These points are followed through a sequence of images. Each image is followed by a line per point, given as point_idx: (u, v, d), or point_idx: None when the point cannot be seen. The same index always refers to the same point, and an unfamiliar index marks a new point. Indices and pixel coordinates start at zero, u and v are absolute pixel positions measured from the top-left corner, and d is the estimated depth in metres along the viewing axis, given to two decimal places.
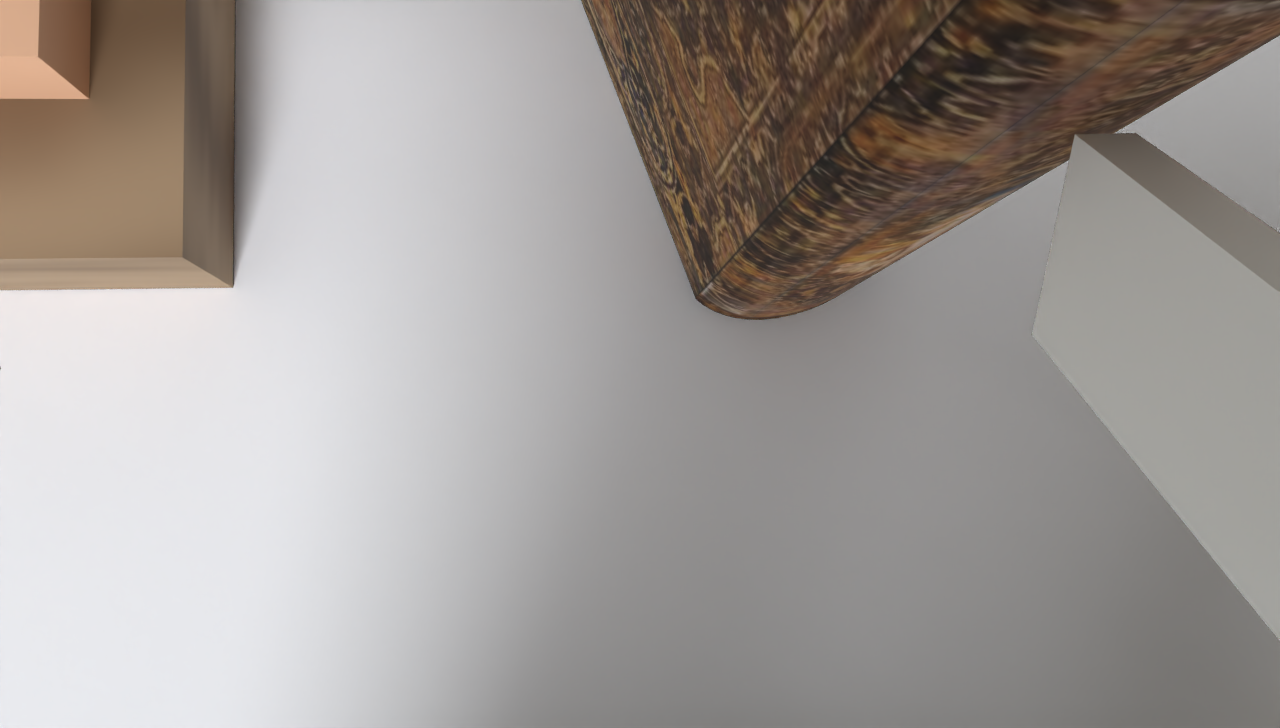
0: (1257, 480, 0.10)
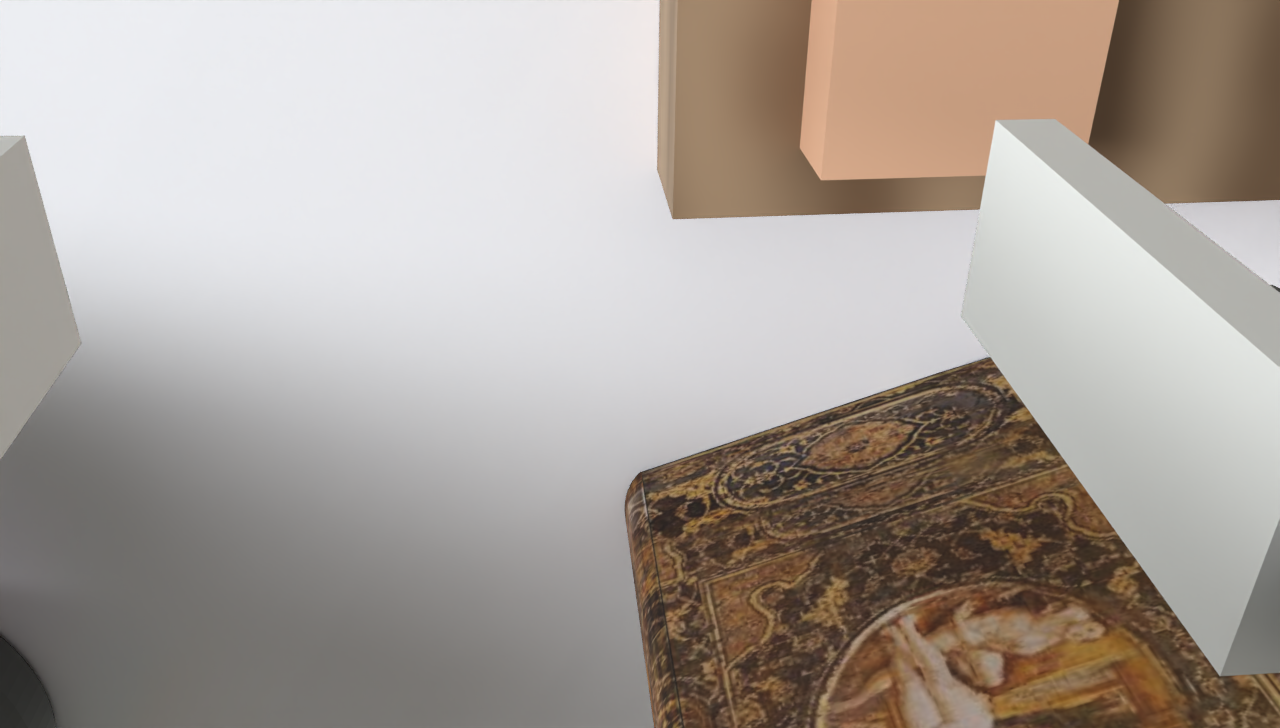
0: (1146, 447, 0.10)
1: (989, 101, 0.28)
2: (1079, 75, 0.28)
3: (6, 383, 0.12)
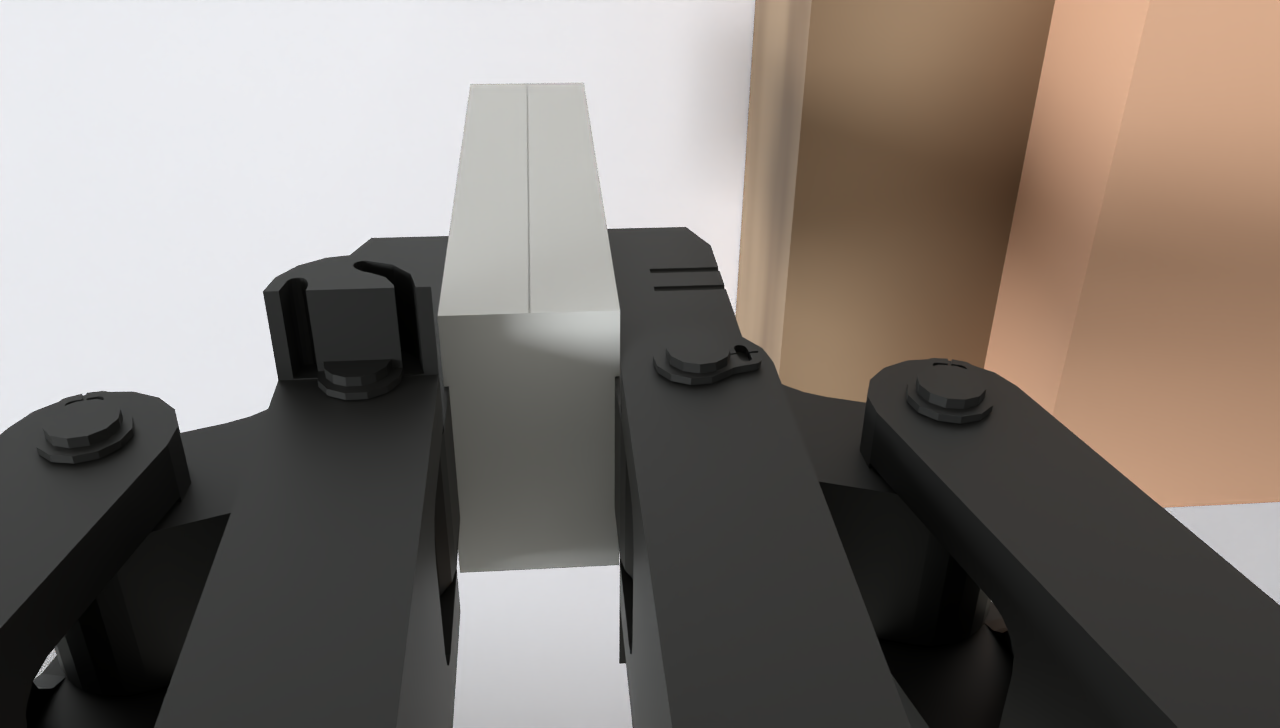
0: None
1: None
2: None
3: None
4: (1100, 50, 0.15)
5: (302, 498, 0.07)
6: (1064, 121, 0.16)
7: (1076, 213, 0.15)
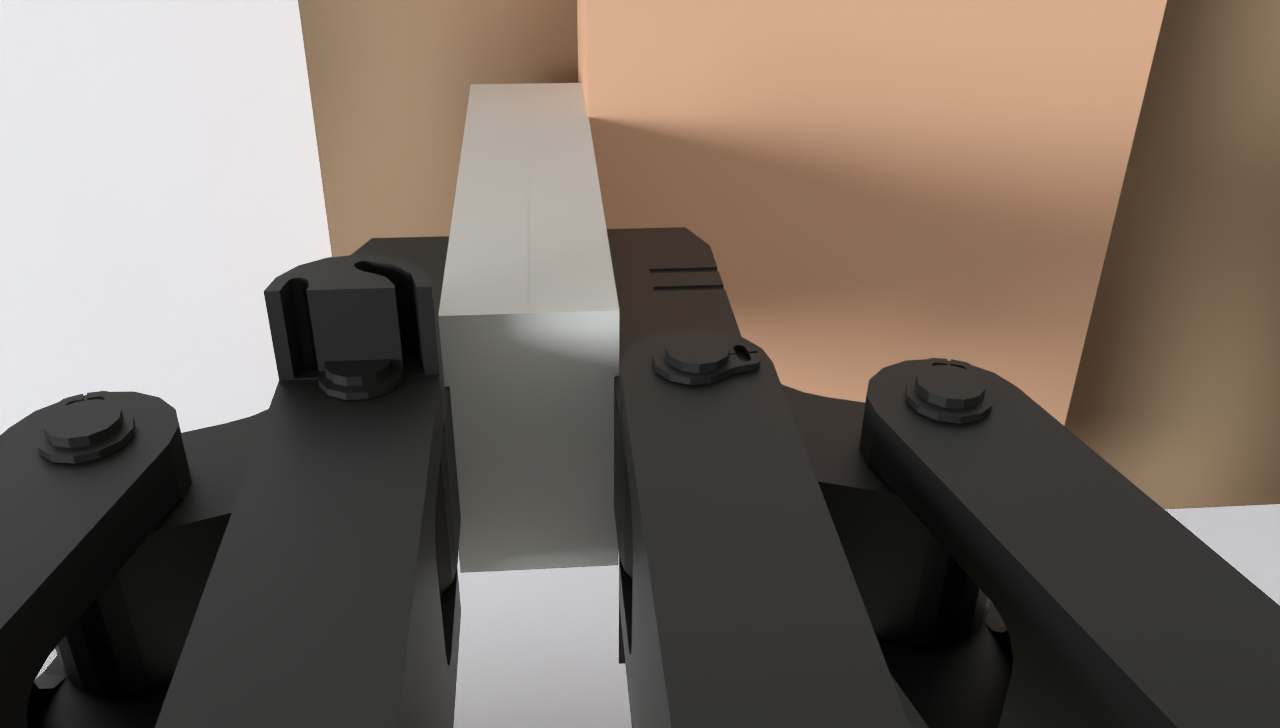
0: None
1: None
2: (1036, 373, 0.16)
3: None
4: (582, 62, 0.14)
5: (304, 498, 0.07)
6: None
7: None
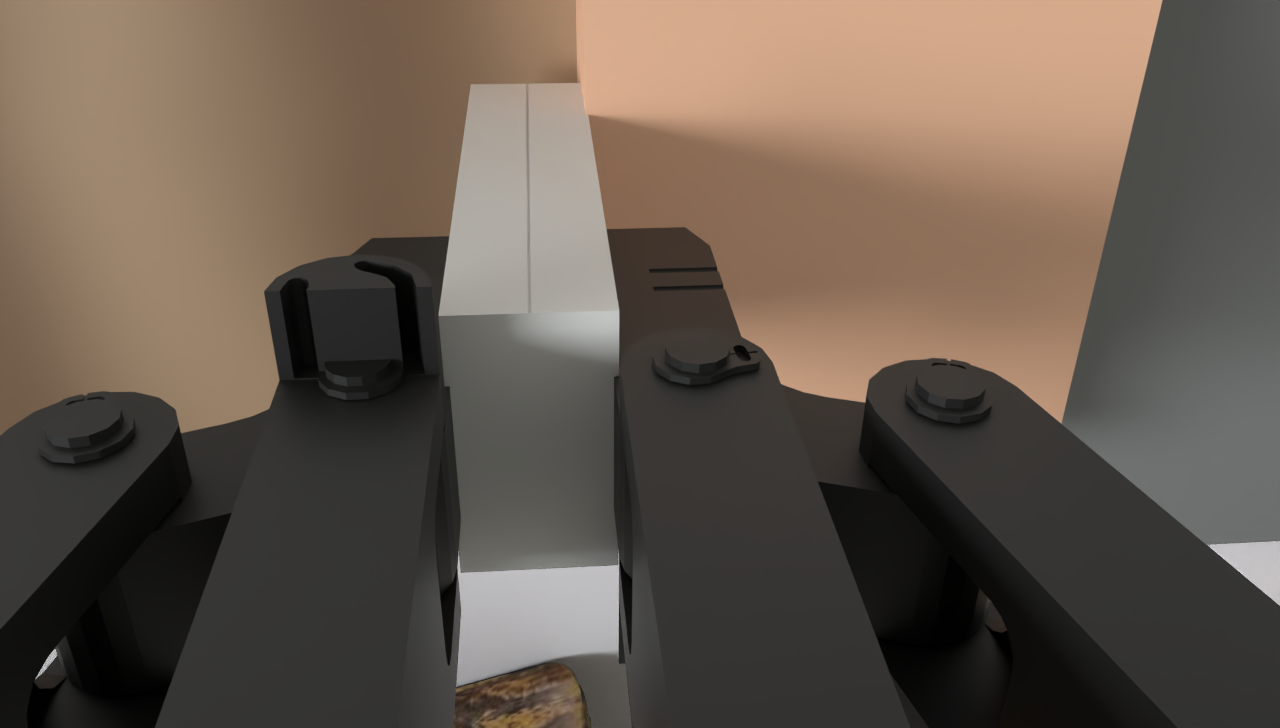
0: None
1: None
2: (1035, 359, 0.16)
3: None
4: (580, 47, 0.14)
5: (303, 499, 0.07)
6: None
7: None
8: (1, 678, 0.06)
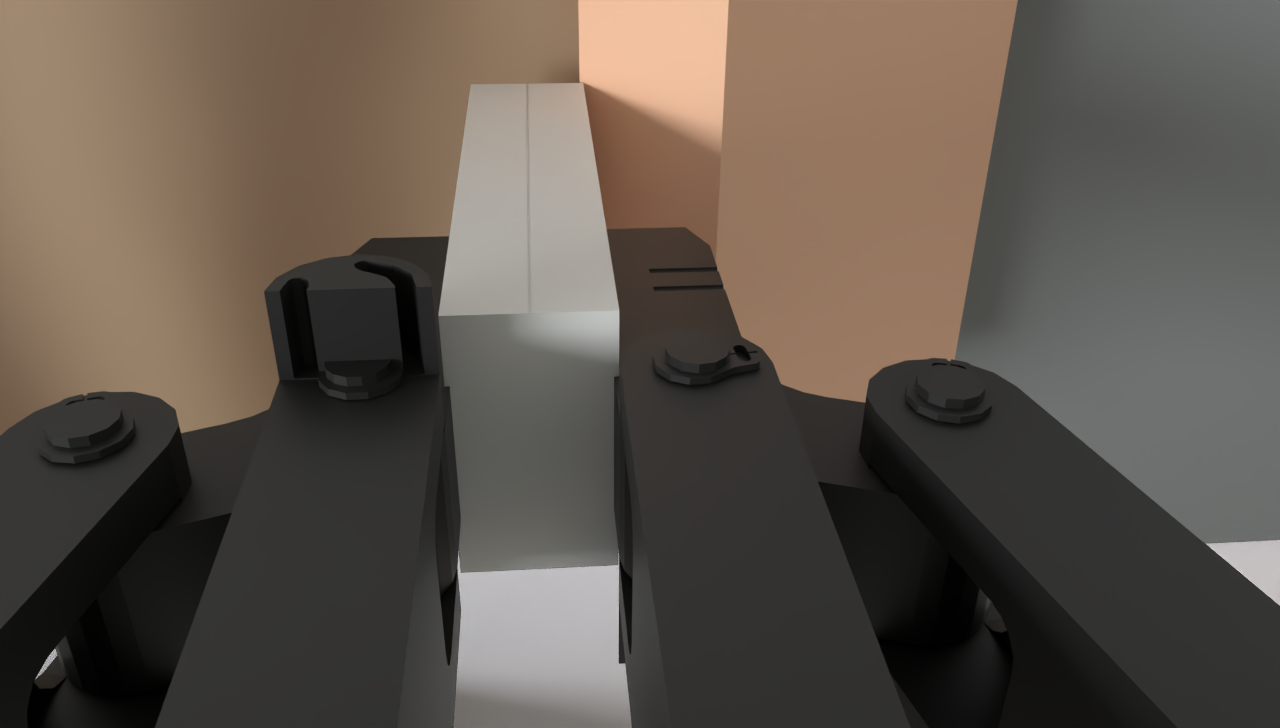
0: None
1: (878, 328, 0.18)
2: (956, 253, 0.19)
3: None
4: (667, 62, 0.14)
5: (304, 498, 0.07)
6: (633, 141, 0.15)
7: None
8: (2, 678, 0.06)
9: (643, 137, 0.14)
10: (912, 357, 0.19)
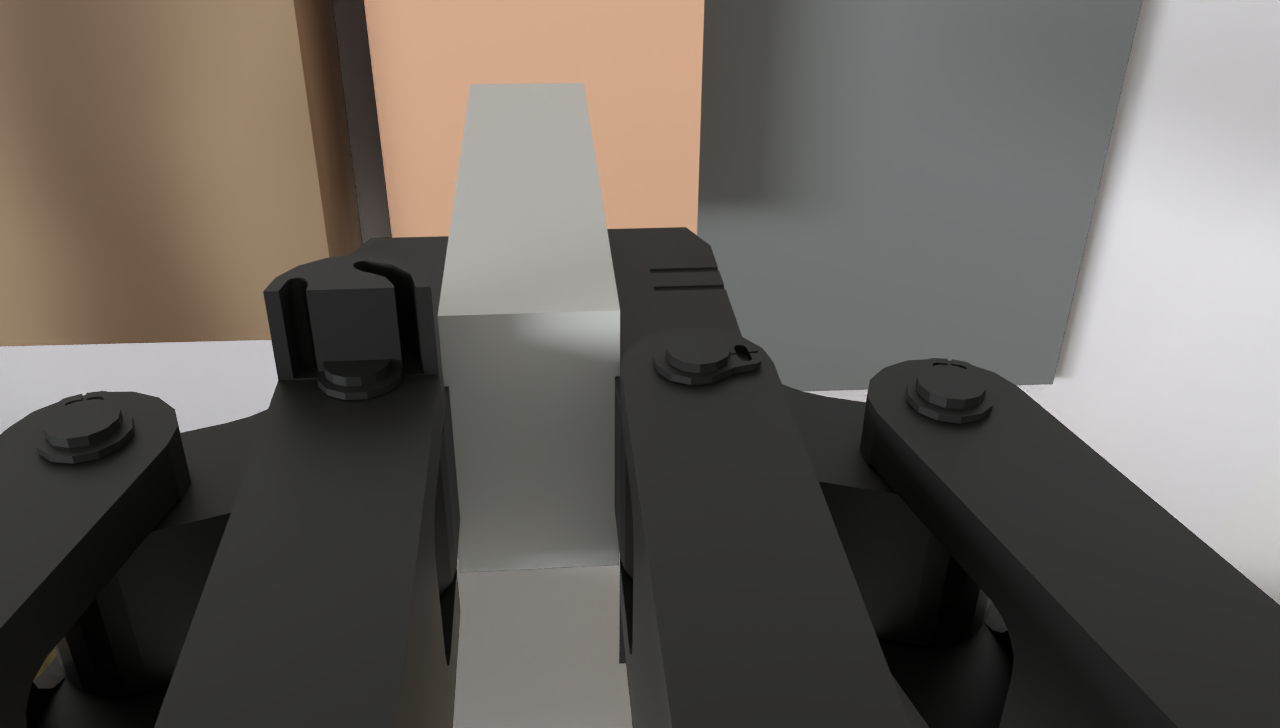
0: None
1: None
2: (672, 129, 0.25)
3: None
4: None
5: (303, 498, 0.07)
6: None
7: None
8: (0, 678, 0.06)
9: None
10: (629, 202, 0.26)
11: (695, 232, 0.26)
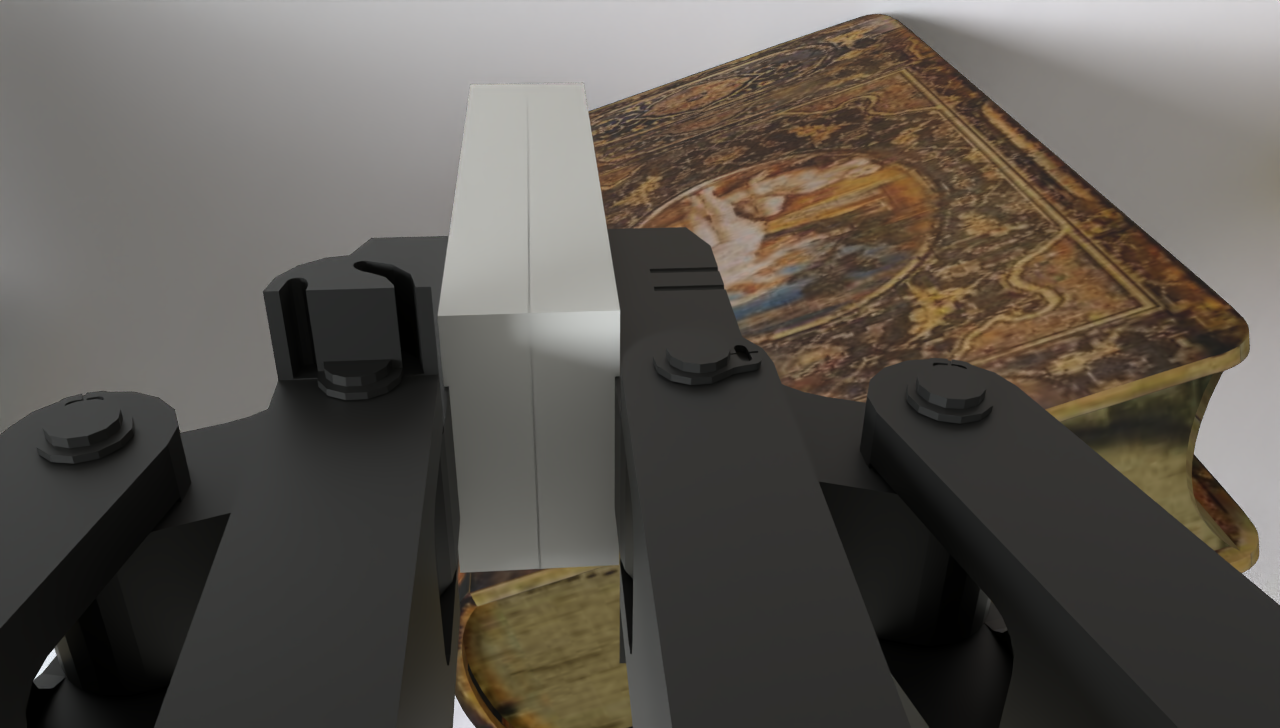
0: None
1: None
2: None
3: None
4: None
5: (303, 498, 0.07)
6: None
7: None
8: (0, 679, 0.06)
9: None
10: None
11: None
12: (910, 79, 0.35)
